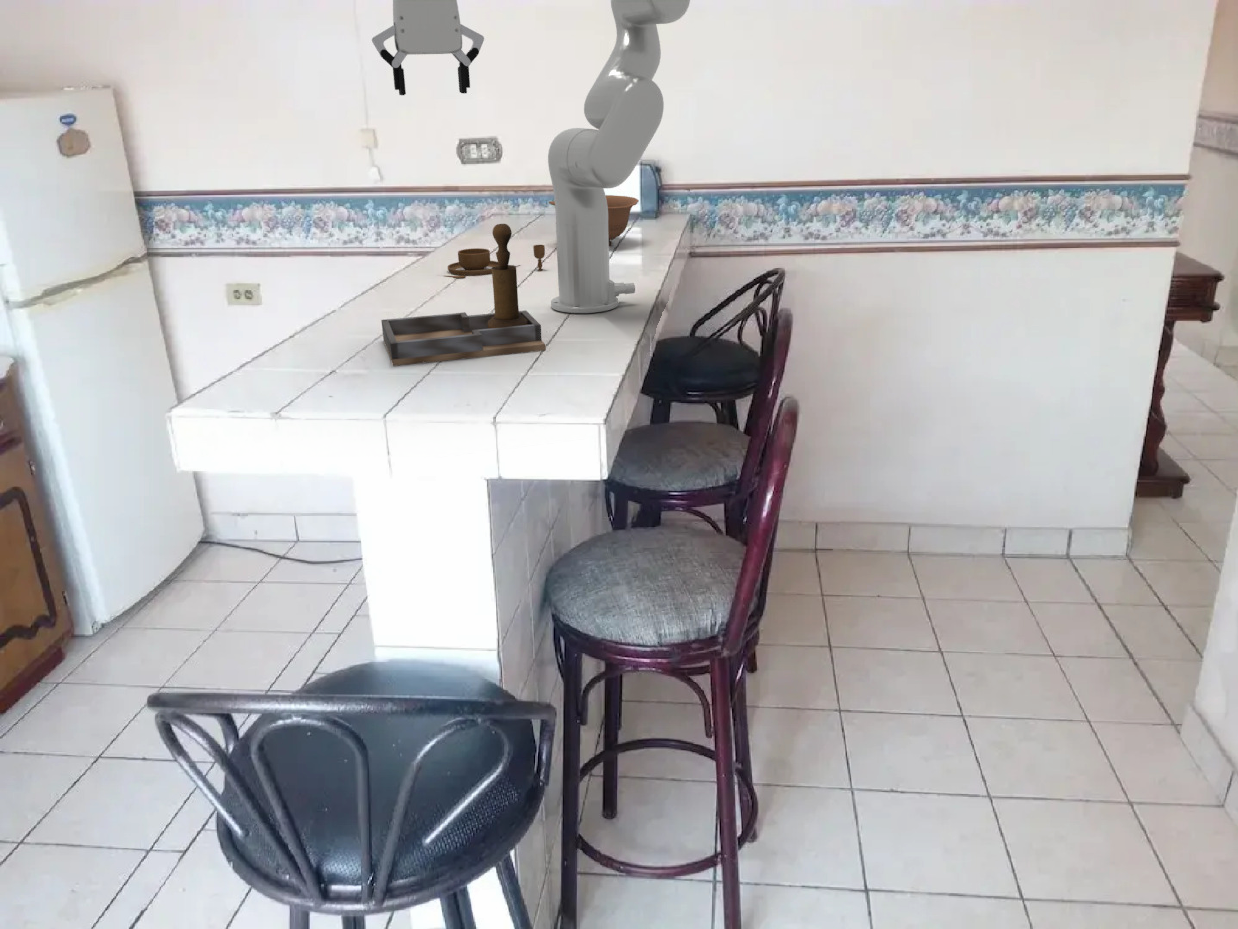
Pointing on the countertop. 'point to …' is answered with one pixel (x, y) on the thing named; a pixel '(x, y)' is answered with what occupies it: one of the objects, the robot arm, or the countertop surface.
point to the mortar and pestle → (504, 284)
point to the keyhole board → (456, 337)
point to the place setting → (482, 262)
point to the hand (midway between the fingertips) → (433, 93)
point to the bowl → (617, 214)
